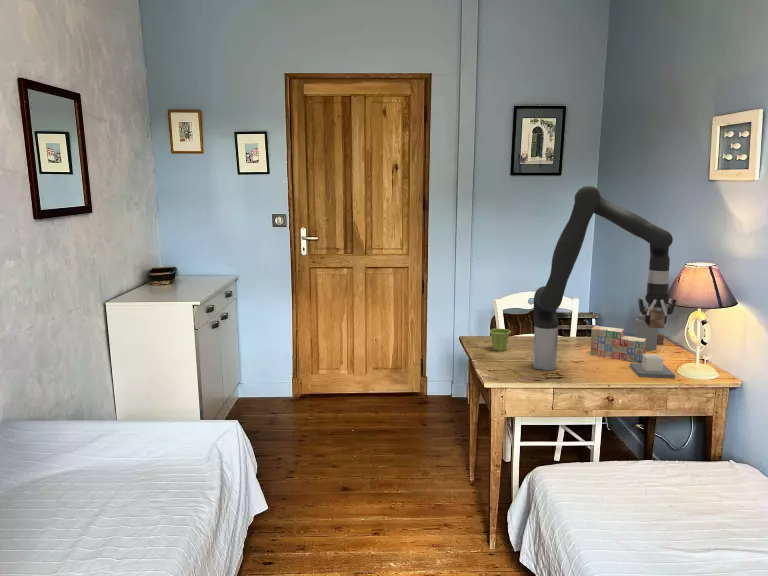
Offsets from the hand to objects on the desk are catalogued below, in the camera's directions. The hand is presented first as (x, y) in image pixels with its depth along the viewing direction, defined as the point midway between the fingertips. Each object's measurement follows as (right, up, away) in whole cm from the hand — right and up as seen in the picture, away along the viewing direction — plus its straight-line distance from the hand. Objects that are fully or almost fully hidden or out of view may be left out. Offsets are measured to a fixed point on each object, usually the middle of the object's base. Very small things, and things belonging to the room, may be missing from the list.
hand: (655, 324), depth 222 cm
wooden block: (+20, -12, +44) cm, 50 cm away
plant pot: (-53, -14, +37) cm, 67 cm away
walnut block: (0, -1, 0) cm, 1 cm away
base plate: (0, -19, +3) cm, 20 cm away
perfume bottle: (+12, -14, +35) cm, 40 cm away
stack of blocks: (-5, -16, +24) cm, 29 cm away
